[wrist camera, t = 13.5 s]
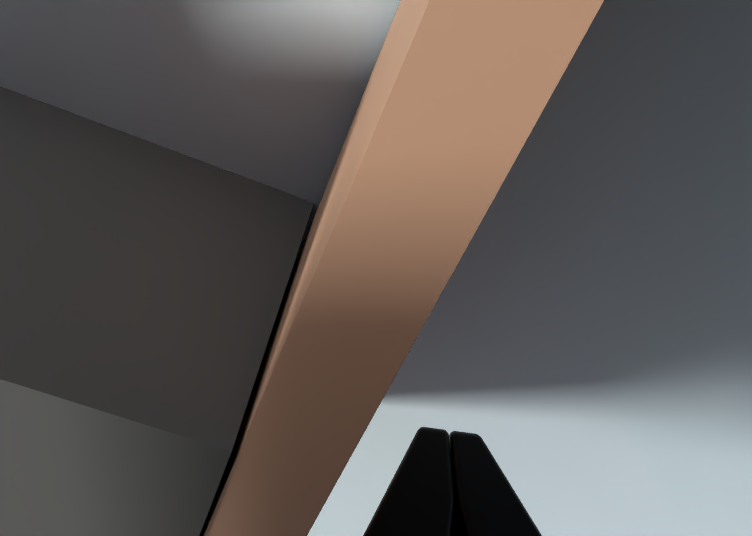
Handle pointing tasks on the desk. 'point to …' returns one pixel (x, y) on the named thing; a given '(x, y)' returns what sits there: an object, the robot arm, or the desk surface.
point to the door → (389, 240)
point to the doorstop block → (126, 323)
